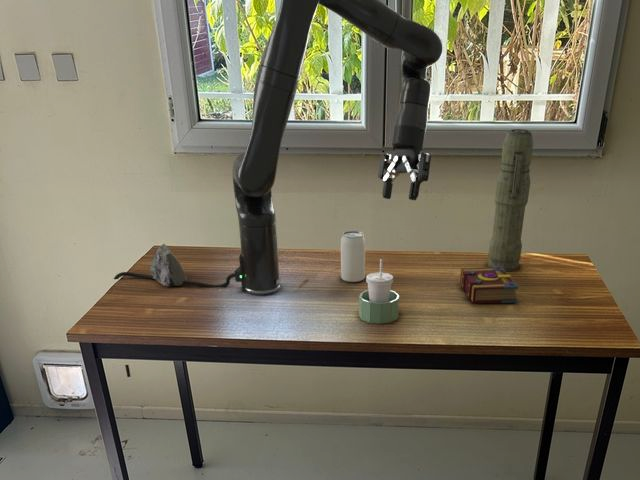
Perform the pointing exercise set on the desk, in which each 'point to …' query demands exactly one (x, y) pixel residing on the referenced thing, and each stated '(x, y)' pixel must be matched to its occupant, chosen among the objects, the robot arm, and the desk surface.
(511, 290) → the decorative book
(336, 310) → the desk surface
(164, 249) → the mineral rock
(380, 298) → the smoothie
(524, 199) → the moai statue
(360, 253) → the can
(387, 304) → the holder
